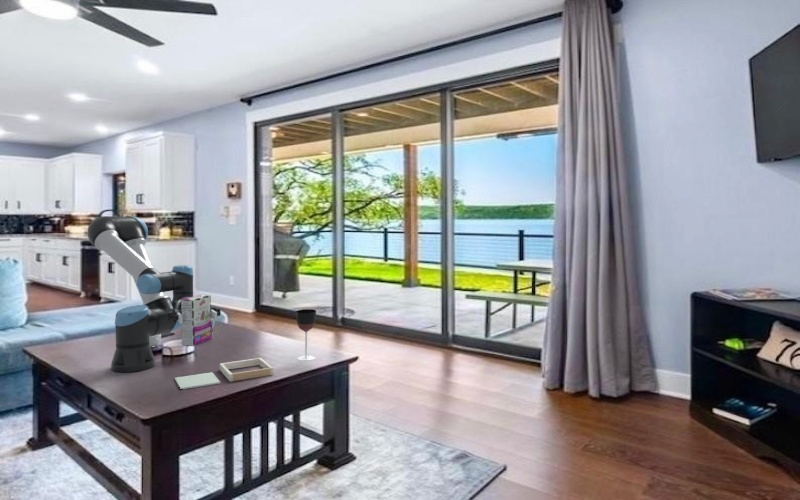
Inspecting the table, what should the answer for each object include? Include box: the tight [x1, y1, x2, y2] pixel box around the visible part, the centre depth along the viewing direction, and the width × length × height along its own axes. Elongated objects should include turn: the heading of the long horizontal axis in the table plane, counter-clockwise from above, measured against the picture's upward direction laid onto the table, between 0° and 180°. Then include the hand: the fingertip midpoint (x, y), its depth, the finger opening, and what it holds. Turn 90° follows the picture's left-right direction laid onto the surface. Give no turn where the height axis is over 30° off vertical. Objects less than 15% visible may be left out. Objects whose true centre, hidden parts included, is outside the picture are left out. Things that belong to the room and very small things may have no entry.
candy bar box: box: [181, 294, 213, 347], centre depth 178 cm, size 11×5×16 cm, turn 169°
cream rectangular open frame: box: [219, 357, 275, 382], centre depth 191 cm, size 16×16×2 cm
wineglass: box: [295, 308, 317, 361], centre depth 210 cm, size 8×9×20 cm
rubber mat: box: [174, 371, 221, 390], centre depth 179 cm, size 13×13×1 cm
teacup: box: [149, 334, 162, 348], centre depth 227 cm, size 10×8×5 cm
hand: (198, 318), depth 175 cm, fingers closed on candy bar box, 11 cm apart
